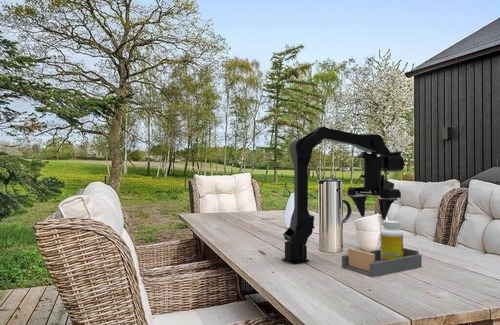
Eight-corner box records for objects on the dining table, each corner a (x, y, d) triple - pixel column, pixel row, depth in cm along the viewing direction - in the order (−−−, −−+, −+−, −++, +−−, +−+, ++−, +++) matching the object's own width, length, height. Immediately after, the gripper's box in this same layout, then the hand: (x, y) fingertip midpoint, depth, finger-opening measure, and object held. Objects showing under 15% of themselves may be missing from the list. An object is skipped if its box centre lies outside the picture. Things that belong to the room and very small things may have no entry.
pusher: (372, 272, 110) (371, 254, 110) (348, 265, 118) (348, 248, 118) (375, 271, 111) (374, 254, 111) (351, 264, 119) (351, 248, 119)
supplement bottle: (405, 266, 117) (404, 223, 117) (382, 265, 118) (381, 222, 118) (401, 260, 123) (400, 220, 123) (379, 260, 125) (378, 219, 125)
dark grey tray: (372, 277, 108) (372, 260, 108) (341, 267, 118) (341, 252, 118) (421, 266, 118) (421, 251, 119) (389, 258, 129) (389, 244, 129)
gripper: (411, 171, 128) (412, 219, 128) (368, 171, 145) (369, 213, 144) (388, 172, 123) (389, 222, 123) (346, 171, 139) (346, 215, 139)
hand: (373, 218), depth 132 cm, fingers open, 9 cm apart
